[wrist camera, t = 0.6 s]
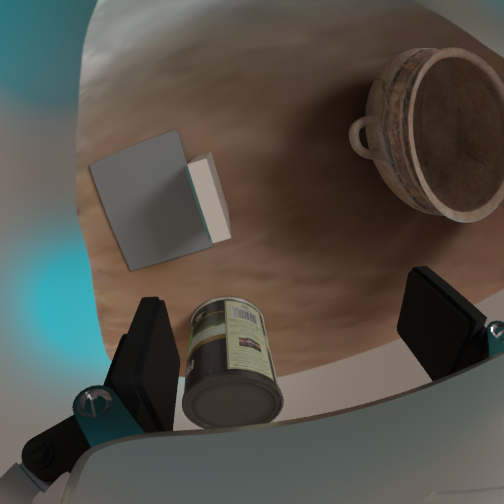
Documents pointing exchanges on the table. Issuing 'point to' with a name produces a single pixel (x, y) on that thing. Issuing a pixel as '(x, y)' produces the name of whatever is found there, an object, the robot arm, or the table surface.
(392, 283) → the table surface
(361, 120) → the cooking pot
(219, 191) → the tile
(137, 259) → the mat
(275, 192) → the table surface
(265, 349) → the coffee can
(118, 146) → the table surface
